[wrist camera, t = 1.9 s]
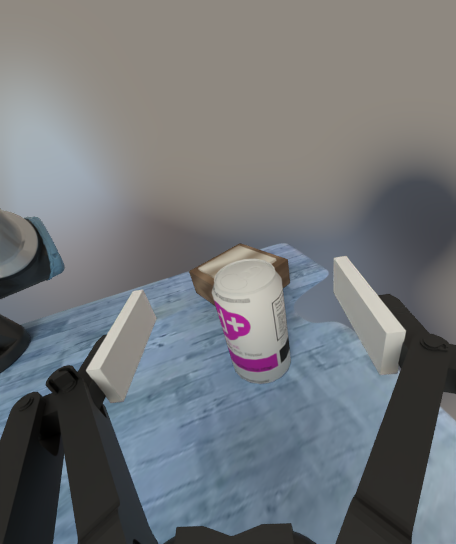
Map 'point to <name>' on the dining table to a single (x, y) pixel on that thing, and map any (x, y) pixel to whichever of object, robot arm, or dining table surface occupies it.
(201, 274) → the walnut pedestal
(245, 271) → the supplement can
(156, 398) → the dining table surface
